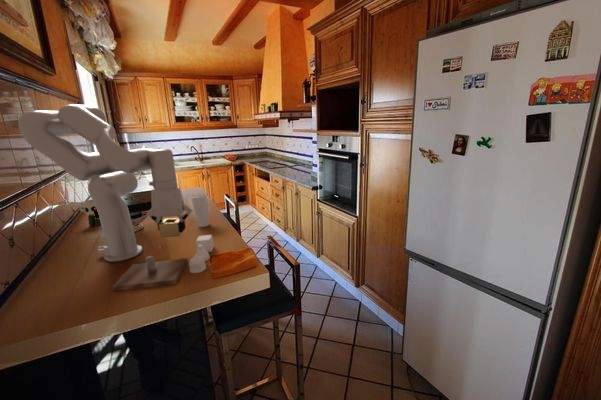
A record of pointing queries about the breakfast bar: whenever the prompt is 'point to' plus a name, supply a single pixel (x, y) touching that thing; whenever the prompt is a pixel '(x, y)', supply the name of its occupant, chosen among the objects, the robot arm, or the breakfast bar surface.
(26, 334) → the breakfast bar surface
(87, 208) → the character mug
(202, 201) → the drinking glass
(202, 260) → the container set
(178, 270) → the post board
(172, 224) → the brass collar
